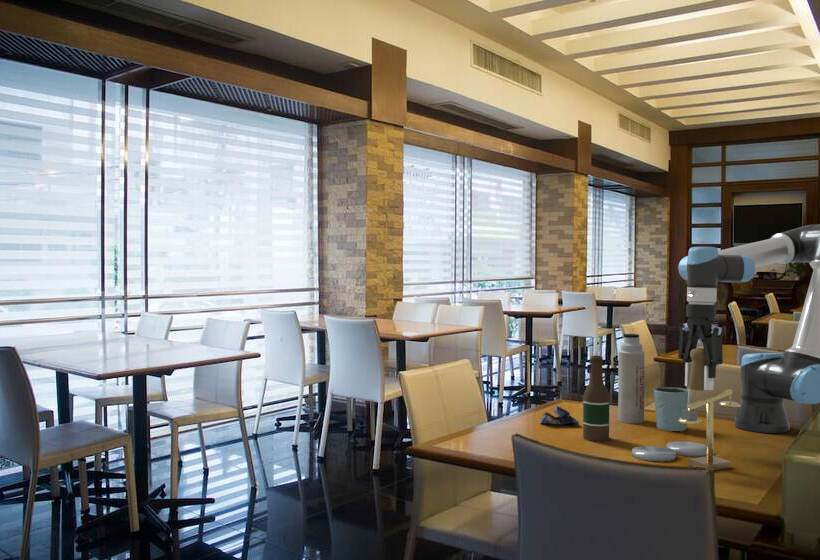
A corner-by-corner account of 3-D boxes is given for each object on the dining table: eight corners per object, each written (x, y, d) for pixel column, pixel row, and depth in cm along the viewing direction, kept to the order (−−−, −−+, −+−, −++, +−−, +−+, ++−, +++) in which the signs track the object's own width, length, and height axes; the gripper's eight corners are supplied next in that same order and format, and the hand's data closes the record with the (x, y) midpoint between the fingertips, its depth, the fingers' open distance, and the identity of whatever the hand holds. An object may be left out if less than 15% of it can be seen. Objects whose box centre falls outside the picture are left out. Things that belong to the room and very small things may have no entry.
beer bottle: (578, 435, 207) (579, 354, 206) (604, 435, 208) (604, 354, 207) (587, 442, 199) (587, 358, 199) (614, 441, 200) (614, 357, 199)
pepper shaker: (713, 391, 188) (714, 350, 188) (689, 389, 190) (690, 349, 190) (709, 387, 194) (709, 347, 194) (685, 386, 196) (686, 347, 195)
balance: (727, 458, 182) (727, 386, 181) (746, 465, 176) (747, 390, 176) (672, 467, 174) (672, 392, 174) (690, 474, 169) (691, 396, 168)
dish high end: (688, 444, 197) (688, 439, 197) (719, 453, 187) (719, 449, 187) (657, 448, 193) (657, 443, 192) (688, 458, 182) (688, 453, 182)
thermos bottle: (649, 421, 224) (650, 334, 224) (631, 424, 221) (631, 335, 220) (631, 417, 232) (631, 332, 231) (612, 419, 228) (613, 333, 227)
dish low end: (654, 448, 192) (654, 444, 192) (685, 458, 182) (685, 454, 182) (622, 453, 188) (622, 448, 188) (652, 463, 178) (652, 459, 178)
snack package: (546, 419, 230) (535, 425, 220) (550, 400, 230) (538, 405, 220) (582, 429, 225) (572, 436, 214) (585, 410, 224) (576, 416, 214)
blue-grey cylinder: (677, 433, 209) (678, 393, 208) (646, 427, 216) (646, 389, 216) (694, 428, 215) (694, 389, 215) (663, 423, 223) (663, 385, 223)
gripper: (665, 301, 199) (663, 382, 199) (718, 305, 181) (716, 394, 182) (685, 301, 202) (683, 381, 202) (740, 305, 184) (737, 393, 185)
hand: (698, 387), depth 192 cm, fingers closed on pepper shaker, 6 cm apart
